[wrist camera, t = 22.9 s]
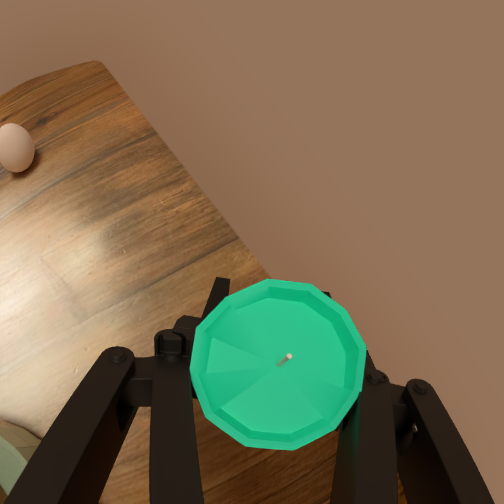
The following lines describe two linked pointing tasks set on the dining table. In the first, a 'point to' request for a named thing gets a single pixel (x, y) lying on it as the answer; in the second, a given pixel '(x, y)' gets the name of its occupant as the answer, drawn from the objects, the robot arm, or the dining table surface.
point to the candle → (277, 364)
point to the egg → (15, 148)
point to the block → (2, 495)
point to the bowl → (14, 453)
